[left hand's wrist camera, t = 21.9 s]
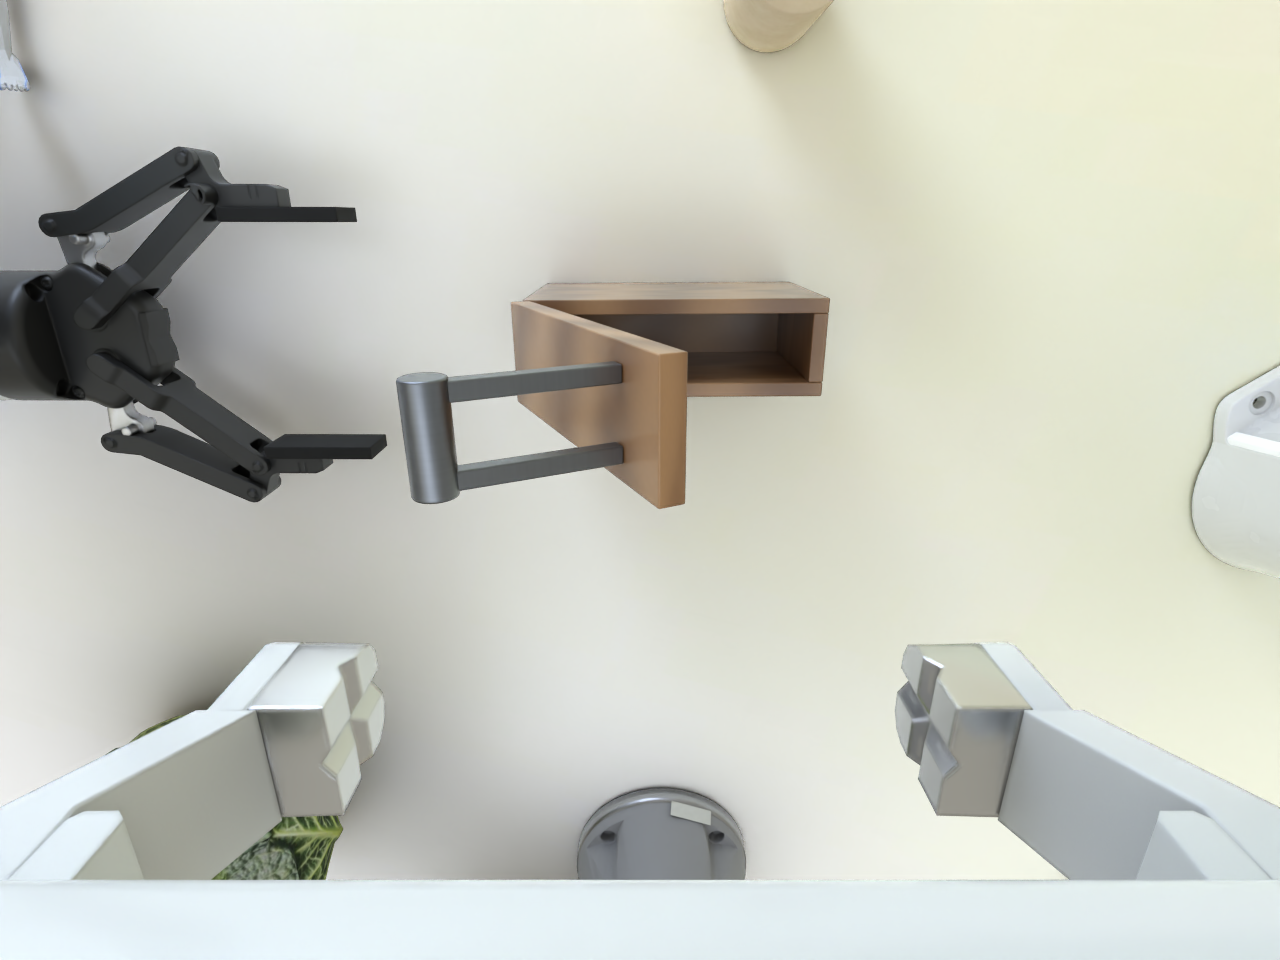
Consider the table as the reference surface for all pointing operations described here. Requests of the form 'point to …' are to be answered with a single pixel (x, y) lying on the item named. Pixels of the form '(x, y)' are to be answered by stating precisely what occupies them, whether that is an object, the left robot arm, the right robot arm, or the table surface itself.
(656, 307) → the chest
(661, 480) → the lid
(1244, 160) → the table surface
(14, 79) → the toy
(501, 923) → the left robot arm
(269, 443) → the right robot arm
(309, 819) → the vegetable
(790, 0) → the candle
